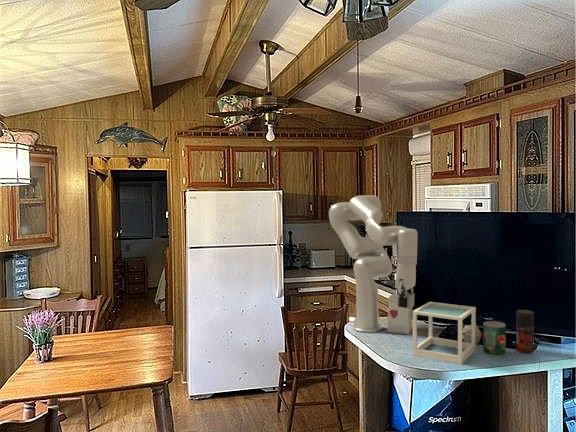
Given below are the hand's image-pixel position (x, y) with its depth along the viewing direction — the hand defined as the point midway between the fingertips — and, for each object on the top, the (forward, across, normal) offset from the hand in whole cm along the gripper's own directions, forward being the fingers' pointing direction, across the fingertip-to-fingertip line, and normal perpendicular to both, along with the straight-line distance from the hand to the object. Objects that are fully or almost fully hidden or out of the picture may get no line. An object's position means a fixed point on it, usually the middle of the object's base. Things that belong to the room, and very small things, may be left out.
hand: (405, 304), depth 202 cm
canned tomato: (+15, -6, +33) cm, 36 cm away
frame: (+15, +3, +17) cm, 23 cm away
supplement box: (+16, -15, -8) cm, 24 cm away
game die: (+15, -12, +23) cm, 30 cm away
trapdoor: (0, +3, +16) cm, 16 cm away
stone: (+1, 0, 0) cm, 1 cm away
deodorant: (+14, -14, +42) cm, 46 cm away
